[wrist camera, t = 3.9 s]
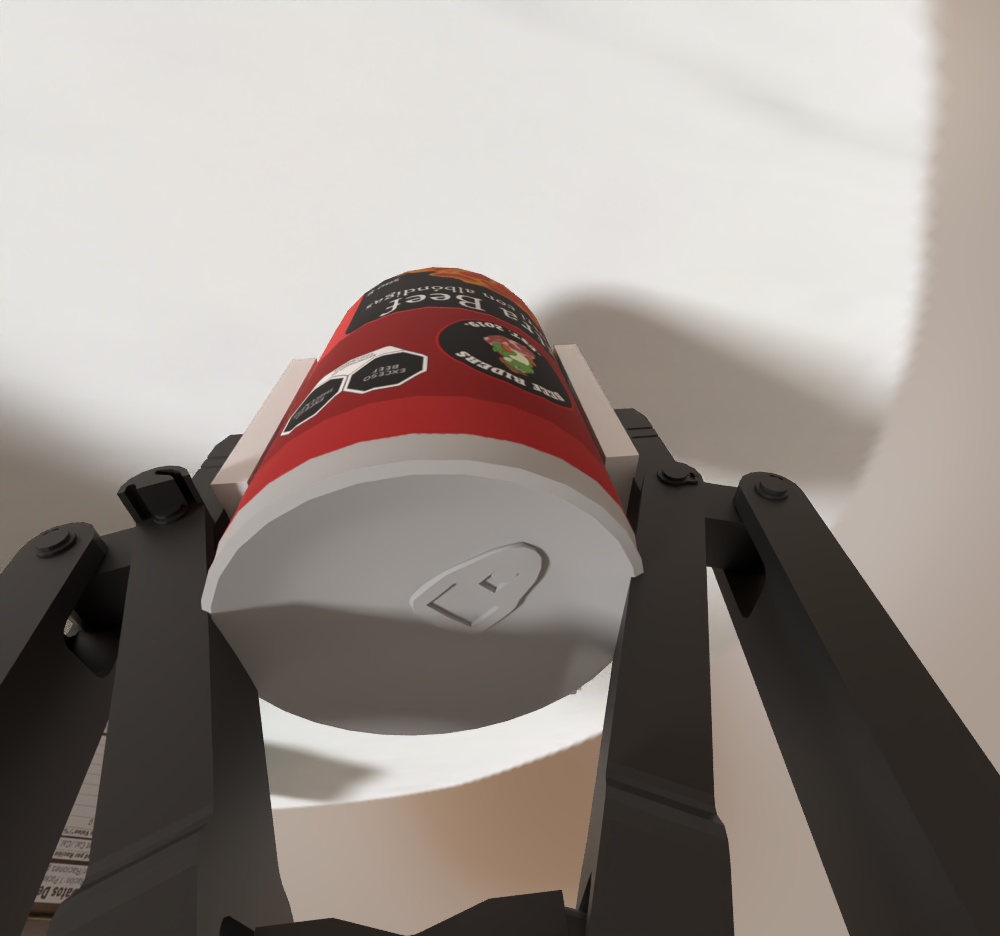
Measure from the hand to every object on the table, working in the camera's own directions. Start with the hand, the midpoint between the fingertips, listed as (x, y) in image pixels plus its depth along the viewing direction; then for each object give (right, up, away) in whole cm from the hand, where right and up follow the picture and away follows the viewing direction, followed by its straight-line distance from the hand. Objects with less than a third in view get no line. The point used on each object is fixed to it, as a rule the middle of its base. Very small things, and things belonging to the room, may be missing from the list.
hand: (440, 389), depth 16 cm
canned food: (0, +1, +1) cm, 2 cm away
